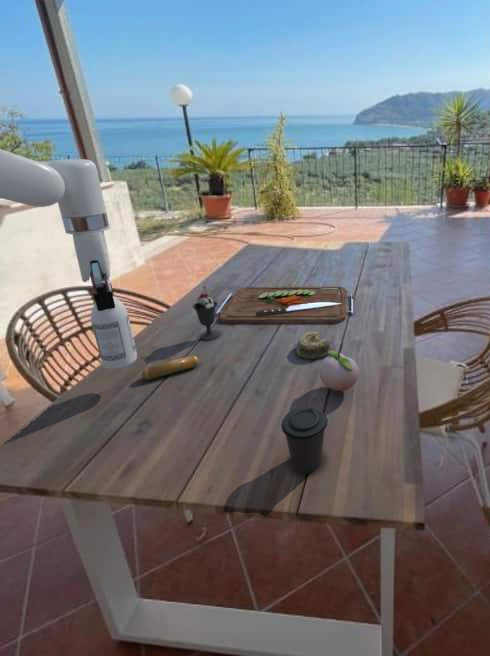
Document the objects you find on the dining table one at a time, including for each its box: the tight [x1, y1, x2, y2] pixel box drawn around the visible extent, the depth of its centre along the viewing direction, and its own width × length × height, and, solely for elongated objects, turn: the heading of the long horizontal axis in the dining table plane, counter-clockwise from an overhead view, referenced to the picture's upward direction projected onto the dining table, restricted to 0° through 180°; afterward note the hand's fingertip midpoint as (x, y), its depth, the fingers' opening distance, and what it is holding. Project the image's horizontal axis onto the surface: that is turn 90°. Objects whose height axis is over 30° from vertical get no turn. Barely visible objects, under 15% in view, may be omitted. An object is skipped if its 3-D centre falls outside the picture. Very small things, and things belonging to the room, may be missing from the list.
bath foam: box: [90, 279, 138, 371], centre depth 86 cm, size 7×7×20 cm
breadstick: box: [140, 355, 200, 381], centre depth 96 cm, size 13×3×3 cm, turn 122°
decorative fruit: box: [318, 350, 360, 392], centre depth 89 cm, size 9×8×10 cm
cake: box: [296, 331, 333, 360], centre depth 106 cm, size 10×10×5 cm
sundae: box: [192, 286, 219, 341], centre depth 111 cm, size 7×7×15 cm
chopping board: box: [215, 286, 354, 324], centre depth 134 cm, size 45×27×3 cm, turn 91°
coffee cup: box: [280, 405, 329, 474], centre depth 70 cm, size 8×8×10 cm
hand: (106, 304), depth 85 cm, fingers closed on bath foam, 3 cm apart
